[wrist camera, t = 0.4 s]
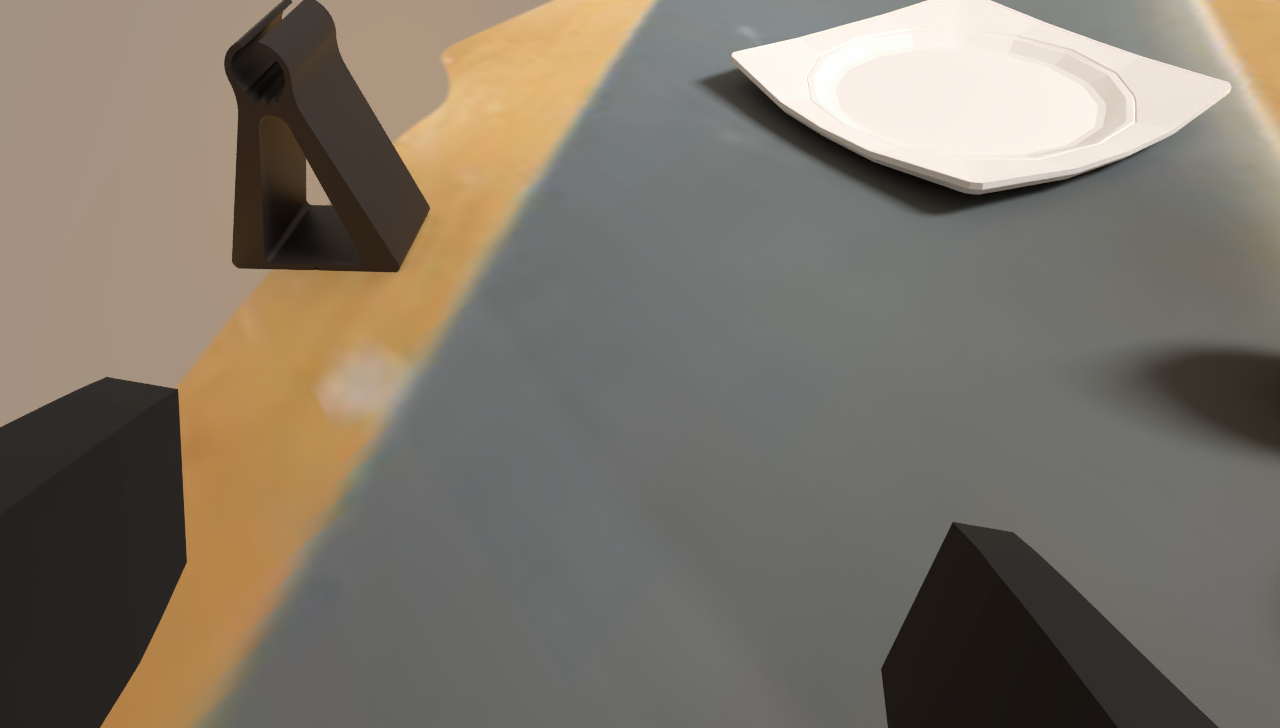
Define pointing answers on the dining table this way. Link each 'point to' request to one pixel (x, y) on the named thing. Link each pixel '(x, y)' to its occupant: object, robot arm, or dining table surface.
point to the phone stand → (313, 155)
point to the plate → (977, 94)
